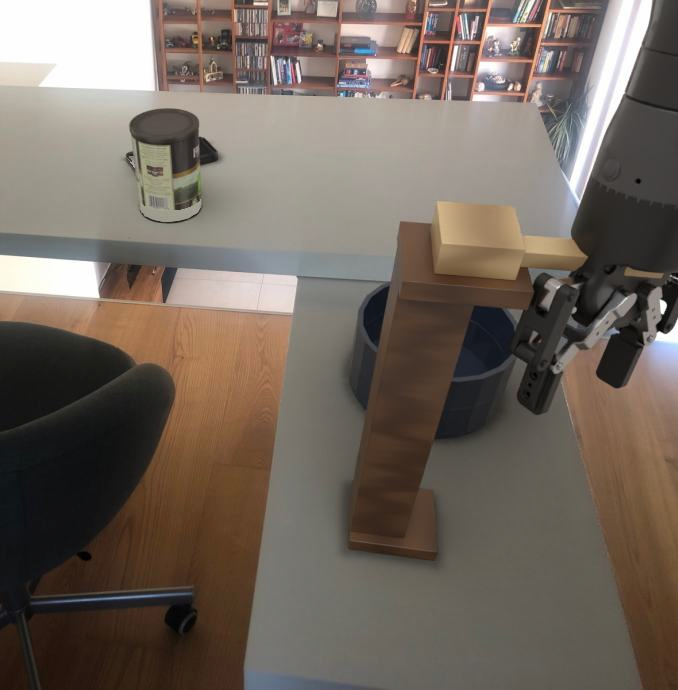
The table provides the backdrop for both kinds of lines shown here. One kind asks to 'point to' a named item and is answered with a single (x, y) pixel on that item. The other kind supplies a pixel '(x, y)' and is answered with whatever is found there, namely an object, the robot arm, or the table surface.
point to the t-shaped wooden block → (497, 244)
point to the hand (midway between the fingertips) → (571, 394)
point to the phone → (206, 152)
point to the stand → (414, 393)
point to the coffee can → (166, 158)
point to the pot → (471, 369)
